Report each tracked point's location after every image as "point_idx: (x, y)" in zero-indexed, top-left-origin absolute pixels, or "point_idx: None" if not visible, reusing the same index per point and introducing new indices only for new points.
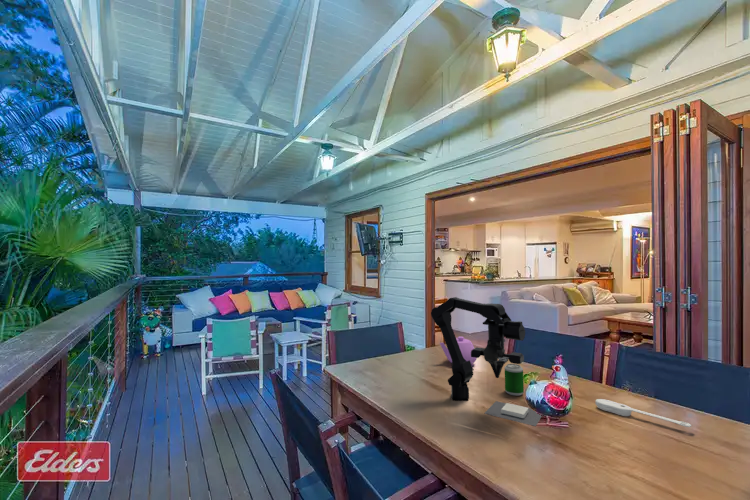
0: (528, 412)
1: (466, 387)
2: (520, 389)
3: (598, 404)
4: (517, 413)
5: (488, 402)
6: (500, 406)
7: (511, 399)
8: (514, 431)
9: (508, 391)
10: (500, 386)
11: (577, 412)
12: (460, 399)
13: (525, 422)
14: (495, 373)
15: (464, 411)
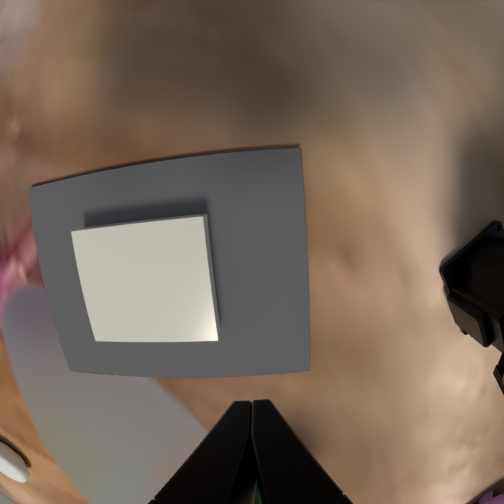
0: None
1: (493, 309)
2: None
3: (11, 459)
4: (104, 227)
5: (343, 337)
6: (257, 317)
7: None
8: (88, 72)
9: None
10: None
11: (25, 416)
12: (475, 249)
13: (67, 192)
14: (270, 443)
15: (407, 124)
